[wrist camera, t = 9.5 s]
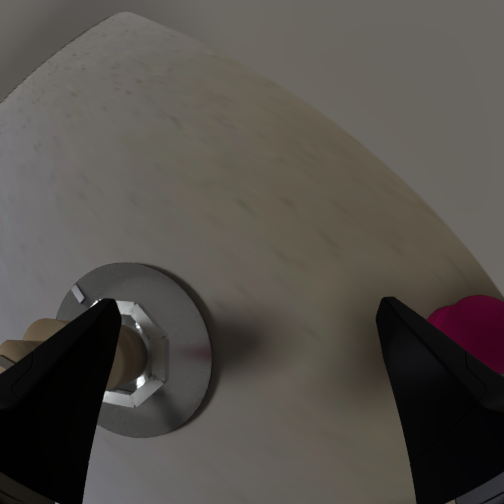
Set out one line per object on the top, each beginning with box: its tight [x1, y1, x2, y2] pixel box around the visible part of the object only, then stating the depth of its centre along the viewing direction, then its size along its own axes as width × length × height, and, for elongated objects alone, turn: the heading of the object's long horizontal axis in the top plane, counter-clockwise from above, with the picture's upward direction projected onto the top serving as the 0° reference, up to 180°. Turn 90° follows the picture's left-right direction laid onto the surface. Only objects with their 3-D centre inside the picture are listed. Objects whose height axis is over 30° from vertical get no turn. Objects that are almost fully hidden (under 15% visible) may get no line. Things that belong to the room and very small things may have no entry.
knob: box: [0, 318, 148, 392], centre depth 15 cm, size 5×5×13 cm
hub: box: [56, 263, 213, 438], centre depth 21 cm, size 15×15×2 cm
